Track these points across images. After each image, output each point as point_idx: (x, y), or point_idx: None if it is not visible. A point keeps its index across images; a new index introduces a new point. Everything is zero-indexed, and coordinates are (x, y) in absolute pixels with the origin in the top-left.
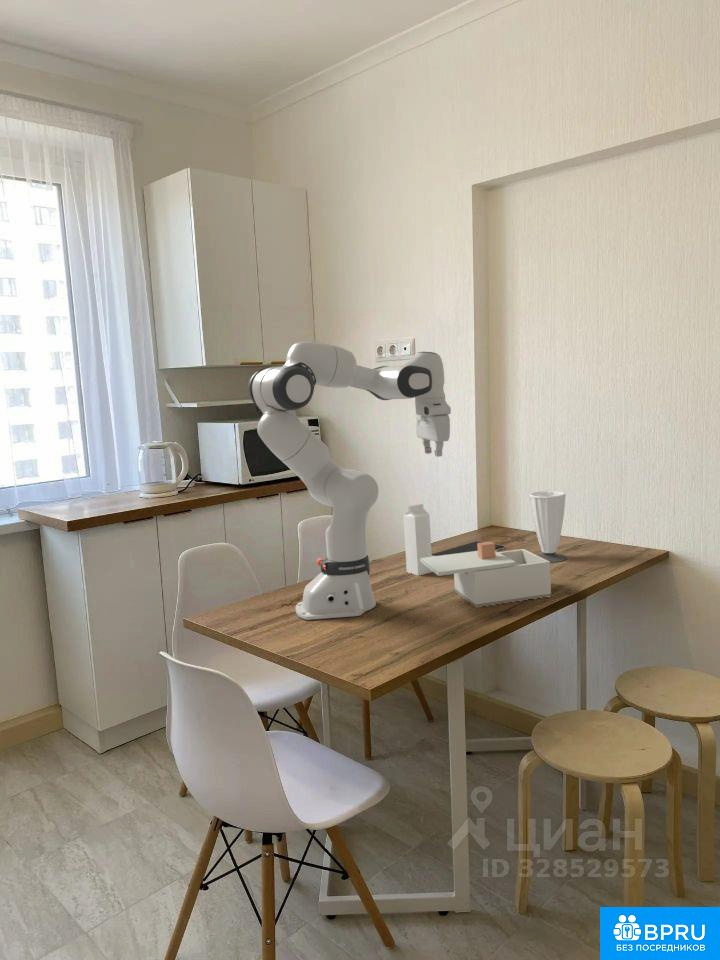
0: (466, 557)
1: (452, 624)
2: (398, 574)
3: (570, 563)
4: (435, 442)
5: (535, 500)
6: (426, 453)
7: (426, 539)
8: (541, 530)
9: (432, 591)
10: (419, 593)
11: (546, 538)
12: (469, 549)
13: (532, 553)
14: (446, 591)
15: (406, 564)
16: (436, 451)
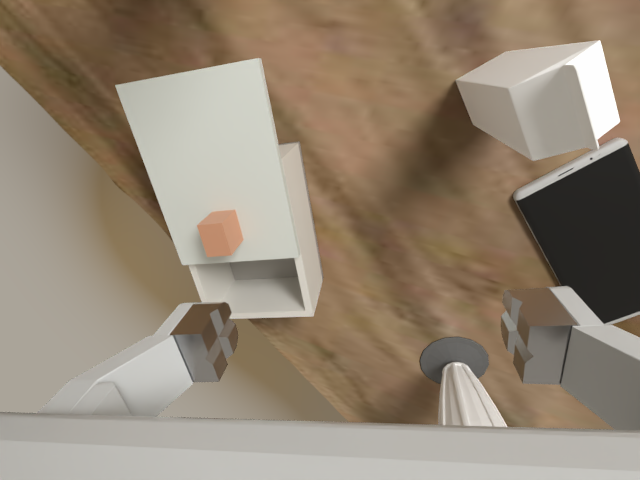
0: (236, 184)
1: (111, 91)
2: (498, 22)
3: (403, 373)
4: (74, 407)
5: None
6: (515, 290)
7: (494, 125)
8: (455, 396)
9: (314, 92)
10: (307, 57)
11: (446, 387)
12: (606, 256)
13: (272, 316)
14: (305, 124)
15: (512, 51)
16: (159, 331)
